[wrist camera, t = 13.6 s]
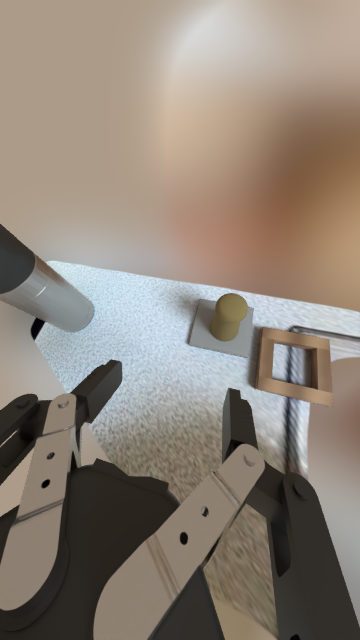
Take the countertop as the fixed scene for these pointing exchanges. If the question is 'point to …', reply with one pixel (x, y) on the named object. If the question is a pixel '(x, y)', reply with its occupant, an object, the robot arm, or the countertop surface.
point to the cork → (228, 316)
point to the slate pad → (206, 340)
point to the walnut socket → (319, 367)
